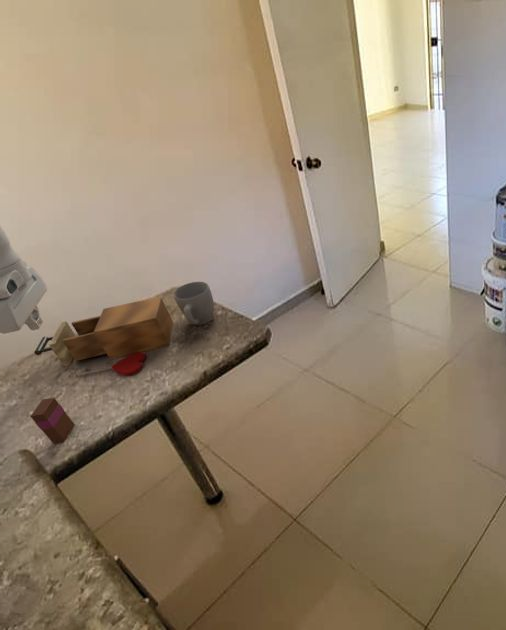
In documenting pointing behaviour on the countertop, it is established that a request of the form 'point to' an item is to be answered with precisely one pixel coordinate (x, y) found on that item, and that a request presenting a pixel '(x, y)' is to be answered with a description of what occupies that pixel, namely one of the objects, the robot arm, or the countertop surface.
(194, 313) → the mug
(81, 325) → the drawer
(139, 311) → the cabinet
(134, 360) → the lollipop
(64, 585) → the countertop surface
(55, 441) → the chocolate
